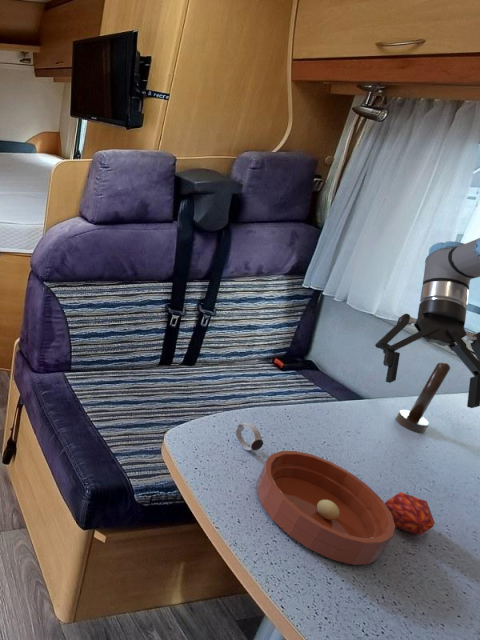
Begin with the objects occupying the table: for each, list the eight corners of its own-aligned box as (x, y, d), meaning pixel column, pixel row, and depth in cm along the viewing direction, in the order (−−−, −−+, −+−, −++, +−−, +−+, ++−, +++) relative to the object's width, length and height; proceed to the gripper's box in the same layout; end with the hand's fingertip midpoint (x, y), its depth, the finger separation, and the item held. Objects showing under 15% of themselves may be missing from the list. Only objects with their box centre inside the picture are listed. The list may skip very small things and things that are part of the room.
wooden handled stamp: (421, 422, 104) (457, 361, 98) (427, 436, 100) (465, 373, 94) (393, 413, 106) (426, 353, 100) (398, 426, 102) (433, 364, 96)
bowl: (369, 504, 82) (382, 481, 80) (390, 590, 68) (407, 566, 66) (256, 458, 90) (265, 436, 88) (254, 526, 76) (265, 502, 74)
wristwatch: (247, 456, 90) (255, 436, 88) (229, 437, 95) (237, 418, 93) (259, 455, 91) (268, 435, 89) (241, 436, 95) (249, 417, 93)
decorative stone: (412, 531, 80) (436, 554, 73) (367, 507, 83) (386, 527, 75) (430, 500, 79) (456, 520, 72) (384, 476, 82) (405, 493, 75)
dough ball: (321, 494, 78) (309, 507, 78) (339, 509, 75) (327, 522, 76) (328, 497, 79) (317, 510, 80) (346, 512, 77) (334, 525, 77)
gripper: (506, 329, 103) (498, 420, 96) (367, 294, 114) (352, 375, 108) (531, 317, 96) (524, 415, 90) (381, 282, 108) (365, 367, 101)
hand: (430, 393), depth 99 cm, fingers open, 13 cm apart
